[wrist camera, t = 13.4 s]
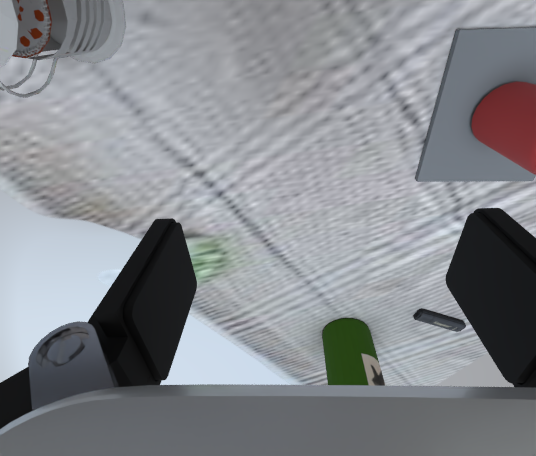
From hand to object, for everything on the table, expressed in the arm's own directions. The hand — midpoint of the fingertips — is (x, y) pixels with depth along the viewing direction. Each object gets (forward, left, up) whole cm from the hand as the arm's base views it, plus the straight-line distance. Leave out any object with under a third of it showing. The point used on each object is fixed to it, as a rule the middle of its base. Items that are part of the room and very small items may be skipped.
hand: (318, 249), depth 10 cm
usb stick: (+38, +27, -29) cm, 55 cm away
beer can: (+2, +23, -27) cm, 36 cm away
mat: (+3, +23, -28) cm, 36 cm away
